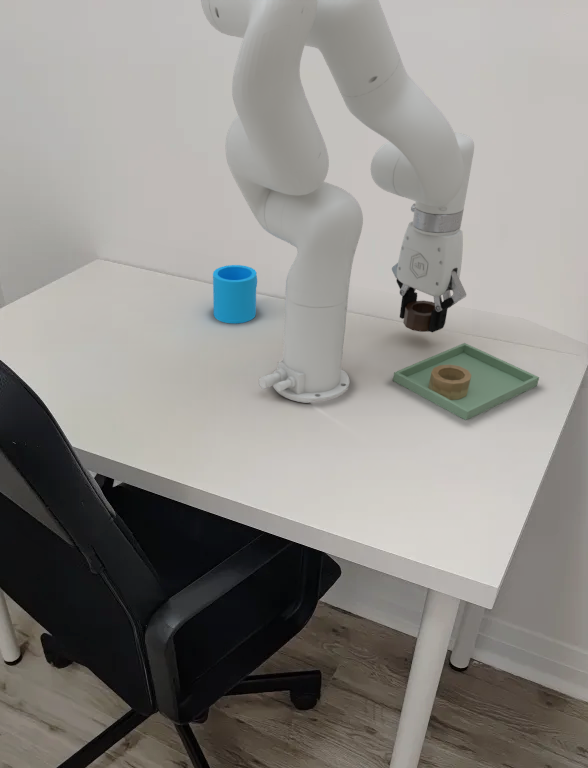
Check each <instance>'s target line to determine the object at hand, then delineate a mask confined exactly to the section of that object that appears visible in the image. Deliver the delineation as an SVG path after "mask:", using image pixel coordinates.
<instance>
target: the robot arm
mask: <svg viewBox="0 0 588 768" xmlns="http://www.w3.org/2000/svg"><path fill="white" fill-rule="evenodd" d="M200 2H201V4H200V5H201V9H202V11H203V14H204V16H205V18H206V20H207V21H208V22H209V24H210V25H211V26H212V27H213V28H214V29H215V30H216V31H218V32H219V33H221V34H224V35H227V36H229V37H230V36H231V37H236V38H241V39H242V41H241V44H240V49H239V51H238V55H237V59H236V63H235V66H234V70H233V76H232V80H231V81H232V83H231V95H232V99H233V104H234V108H235V110H236V113H237V116H236V117H235V118H234V119H233V121H232V122H231V124H230V125H229V128H228V131H227V134H226V137H225V157H226V163H227V167H228V168H229V171H230V173H231V175H232V176H233V179H234V181H235V183H236V185H237V186H238V189H239V190H240V192H241V194H242V196H243V198H244V200H245V202H246V203H247V206H248V208H249V210H250V211H251V213H252V214H253V216H254V218H255V220H256V221H257V222H258V225H260V226H261V228H262V229H263V230H264V231H266V232H267V233H268V234H270V235H272V236H273V237H275V238H277V239H279V240H281V241H284V242H286V243H288V244H290V245H292V246H293V247H295V248H296V250H297V253H296V257H295V259H294V261H293V262H292V264H291V266H290V268H289V270H288V272H287V276H286V280H285V302H284V324H283V343H282V344H283V346H282V347H283V348H282V360H280V361H278V362H277V369H274V371H272V373H268V374H266V375H264V376H261V377H259V378H258V384H259V385H258V386H259V387H260V388H261V389H263V390H265V389H267V388H268V389H269V388H270V387H273V389H274V390H275V391H276V393H277V394H279V395H280V396H282V397H283V398H286V399H288V400H291V401H293V402H298V403H303V404H311V403H313V402H314V403H315V402H326V401H330V400H334V399H337V398H339V397H341V396H343V395H344V394H345V393H346V392H347V391H348V389H349V388H350V383H351V382H350V377H349V374H348V373H347V372H346V371H345V370H344V369H343V368H342V363H343V353H344V352H343V351H344V345H345V334H346V333H345V332H346V322H347V311H348V301H349V291H350V284H351V283H350V282H351V274H352V267H353V262H354V257H355V255H356V250H357V248H358V244H359V241H360V239H361V234H362V230H363V224H364V214H363V210H362V207H361V205H360V203H359V202H358V200H357V199H356V198H355V197H354V195H352V194H351V193H350V192H348V191H347V190H346V189H344V188H342V187H339V186H337V185H334V184H332V183H329V182H327V181H325V180H326V178H327V175H328V172H329V167H330V166H329V165H330V162H329V161H330V159H329V153H328V149H327V145H326V141H325V140H324V137H323V134H322V133H321V130H320V126H319V125H318V123H317V120H316V117H315V114H314V113H313V111H312V108H311V106H310V103H309V101H308V98H307V96H306V93H305V90H304V87H303V83H302V80H301V72H300V69H301V60H302V57H303V52H304V49H305V47H310V48H315V49H318V51H319V52H320V53H321V55H322V57H323V59H324V61H325V63H326V65H327V67H328V69H329V71H330V73H331V75H332V78H333V80H334V82H335V84H336V87H337V88H338V91H339V94H340V96H341V98H342V99H343V102H344V104H345V106H346V108H347V110H348V111H349V112H350V114H352V115H353V116H354V117H355V118H356V119H357V120H358V121H359V122H361V123H362V124H363V125H364V126H366V127H367V128H369V129H370V130H371V131H373V132H374V133H376V134H378V135H380V136H381V137H382V138H384V139H385V140H387V142H385V143H384V144H382V145H381V146H380V147H379V148H378V149H377V150H376V152H375V153H374V155H373V156H372V159H371V162H370V176H371V179H372V180H373V182H374V184H375V185H377V187H379V188H380V189H381V190H383V191H385V192H388V193H391V194H393V195H395V196H398V197H402V198H405V199H408V200H411V201H414V202H415V203H413V204H412V205H411V207H410V211H411V212H412V213H413V217H412V218H413V219H412V221H410V222H409V223H408V225H407V227H406V229H405V233H404V236H403V239H402V243H401V246H400V251H399V257H398V262H396V264H394V265H393V266H392V267H391V271H392V273H393V275H394V278H395V279H396V283H397V285H398V288H399V295H400V296H401V303H400V310H399V319H401V320H402V319H403V320H404V315H405V307H406V306H407V304H408V303H411V302H413V301H418V292H416V290H417V291H419V292H422V293H424V294H426V295H428V296H430V297H433V302H434V304H435V309H434V310H432V312H431V318H430V324H429V331H428V332H430V333H432V334H433V333H435V332H438V331H440V330H442V329H443V328H444V327H445V324H446V320H447V315H448V309H450V308H451V307H452V306H454V305H456V304H457V303H458V302H460V301H461V300H463V299H464V298H466V297H467V292H466V290H465V288H464V286H463V284H462V282H461V279H460V277H461V271H462V264H463V247H464V236H463V233H464V231H463V230H461V226H462V221H463V216H464V210H465V204H466V197H467V194H468V193H467V192H468V188H469V181H470V176H471V171H472V164H473V159H474V153H475V143H474V140H473V139H472V137H471V136H470V135H467V134H464V133H462V132H455V131H454V129H453V127H452V125H451V124H450V122H449V119H448V118H447V117H446V116H445V114H443V112H442V111H441V110H440V108H439V107H438V106H437V105H436V104H435V103H434V101H433V100H432V99H431V98H430V97H429V96H428V94H427V93H426V92H425V91H424V90H423V89H422V87H420V85H419V84H418V83H417V82H416V81H415V80H414V79H413V78H412V77H411V76H410V75H409V73H408V71H407V70H406V68H405V66H404V63H403V60H402V57H401V55H400V53H399V50H398V47H397V45H396V42H395V39H394V37H393V34H392V32H391V29H390V26H389V23H388V21H387V17H386V16H385V13H384V10H383V7H382V5H381V2H380V0H200ZM451 291H452V295H451ZM442 299H443V300H442Z"/></svg>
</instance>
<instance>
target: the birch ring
mask: <svg viewBox="0 0 588 768" xmlns="http://www.w3.org/2000/svg"><path fill="white" fill-rule="evenodd" d="M470 380H471V374H470V372H469V371H468V370H466V369H464V368H462V367H460V366H455V365H440V366H437V367H435V368H433V370H432V372H431V377H430V382H429V389H431V390H432V391H434V392H436V393H438V394H440V395H442V396H444V397H446V398H448V399H449V400H458V399H461V398H463V397H465V396H466V395H467V393H468V389H469V385H470Z"/></svg>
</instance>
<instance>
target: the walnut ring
mask: <svg viewBox="0 0 588 768" xmlns="http://www.w3.org/2000/svg"><path fill="white" fill-rule="evenodd" d="M434 309H435V304H434V301H428V300H417V301H413V302H411V303H408V304H407V306H406V307H405V315H404V319H403V321H402V322H403V325H404V326H405V328H406V329H409V330H411V331H413V332H420V333H426V332H430V331H429V324H430V318H431V312H432V310H434Z"/></svg>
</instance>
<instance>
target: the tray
mask: <svg viewBox="0 0 588 768" xmlns="http://www.w3.org/2000/svg"><path fill="white" fill-rule="evenodd" d="M440 365H455V366H460V367H462V368H464V369H466V370H468V371H469V372H470V374H471V380H470V385H469V389H468V393H467V395H466V396H465V397H463V398H461V399H458V400H449V399H448V398H446V397H444V396H442V395H440V394H438V393H436V392H434V391H432V390H431V389H429V382H430V377H431V372H432V370H433V368H435V367H437V366H440ZM539 381H540V377H539V376H537V375H535V374H533V373H531V372H529V371H527V370H524V369H522V368H520V367H519V366H515V365H513V364H511V363H509V362H508V361H505V360H503V359H500V358H499V357H497V356H494V355H492V354H490V353H488V352H485V351H483V350H481V349H479V348H476V347H475V346H472V345H470V344H468V343H466V342H464V343H461V344H458V345H456V346H453V347H451V348H449V349H446V350H444V351H442V352H439V353H437V354H435V355H432V356H430V357H427V358H425V359H423V360H420V361H418V362H415V363H413V364H410V365H408V366H406V367H404V368H401V369H398V370H397V371H394V372H393V377H392V382H394V383H396V384H398V385H399V386H401V387H404V388H406V389H407V390H409V391H410V392H412V393H415V394H416V395H418V396H420V397H422V398H424V399H425V400H427V401H428V402H429V401H430V402H431V403H433V404H434V405H436V406H439V407H440V408H442V409H444V410H445V411H447V412H450V413H451V414H453V415H456V417H458V418H460V419H462V420H464V421H468V420H470V419H472V418H475V417H476V416H478V415H480V414H482V413H484V412H486V411H488V410H491V409H493V408H494V407H496V406H498V405H500V404H502V403H504V402H507V401H508V400H511V399H513V398H515V397H517V396H519V395H521V394H523V393H525V392H528V391H529V390H531V389H534V388H535V387H537V386H538V383H539Z"/></svg>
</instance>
